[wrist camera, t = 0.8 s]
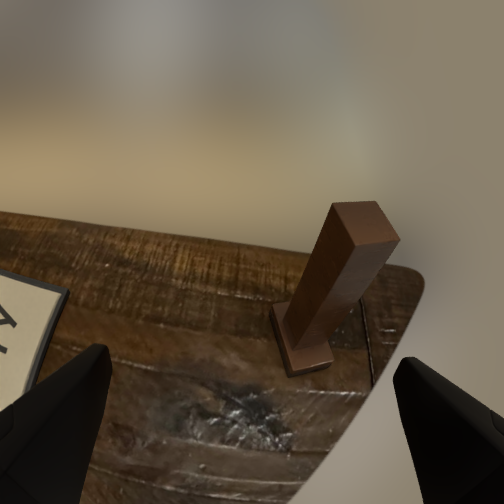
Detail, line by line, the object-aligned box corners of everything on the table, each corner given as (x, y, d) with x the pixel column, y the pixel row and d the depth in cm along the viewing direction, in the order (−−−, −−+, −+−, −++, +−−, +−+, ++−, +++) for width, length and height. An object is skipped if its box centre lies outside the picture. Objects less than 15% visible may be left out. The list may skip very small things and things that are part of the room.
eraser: (327, 367, 24) (422, 264, 13) (287, 377, 23) (363, 275, 12) (306, 307, 28) (368, 181, 17) (268, 313, 27) (312, 181, 16)
